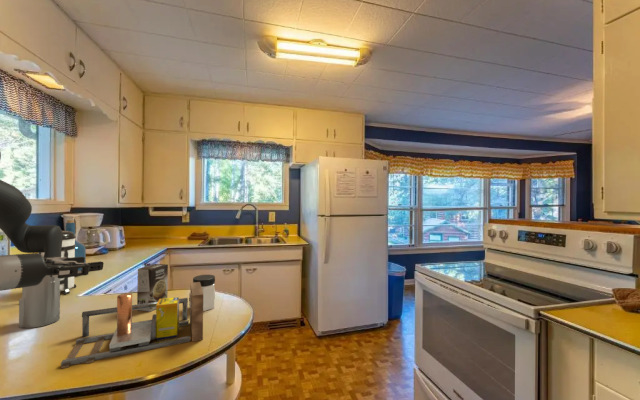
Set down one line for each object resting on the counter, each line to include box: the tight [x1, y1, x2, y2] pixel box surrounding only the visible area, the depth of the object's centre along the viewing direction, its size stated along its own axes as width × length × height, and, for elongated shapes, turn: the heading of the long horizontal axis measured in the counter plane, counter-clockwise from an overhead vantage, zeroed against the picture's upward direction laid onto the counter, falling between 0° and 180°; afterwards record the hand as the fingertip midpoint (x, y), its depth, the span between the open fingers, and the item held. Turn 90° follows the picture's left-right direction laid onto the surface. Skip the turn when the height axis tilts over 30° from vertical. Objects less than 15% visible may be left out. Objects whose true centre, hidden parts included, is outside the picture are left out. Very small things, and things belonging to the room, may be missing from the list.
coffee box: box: [136, 263, 169, 312], centre depth 112 cm, size 9×6×16 cm
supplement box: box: [155, 296, 180, 342], centre depth 90 cm, size 6×6×11 cm
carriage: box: [109, 292, 156, 352], centre depth 85 cm, size 11×13×13 cm
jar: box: [192, 274, 216, 312], centre depth 112 cm, size 9×8×12 cm
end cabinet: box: [188, 282, 204, 342], centre depth 92 cm, size 4×14×14 cm, turn 27°
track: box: [60, 319, 191, 369], centre depth 85 cm, size 30×15×1 cm, turn 117°
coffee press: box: [39, 225, 77, 296], centre depth 125 cm, size 17×16×30 cm
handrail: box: [81, 297, 189, 338], centre depth 95 cm, size 30×2×8 cm, turn 117°
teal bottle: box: [64, 219, 87, 278], centre depth 153 cm, size 14×13×30 cm
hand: (92, 263), depth 77 cm, fingers open, 8 cm apart
